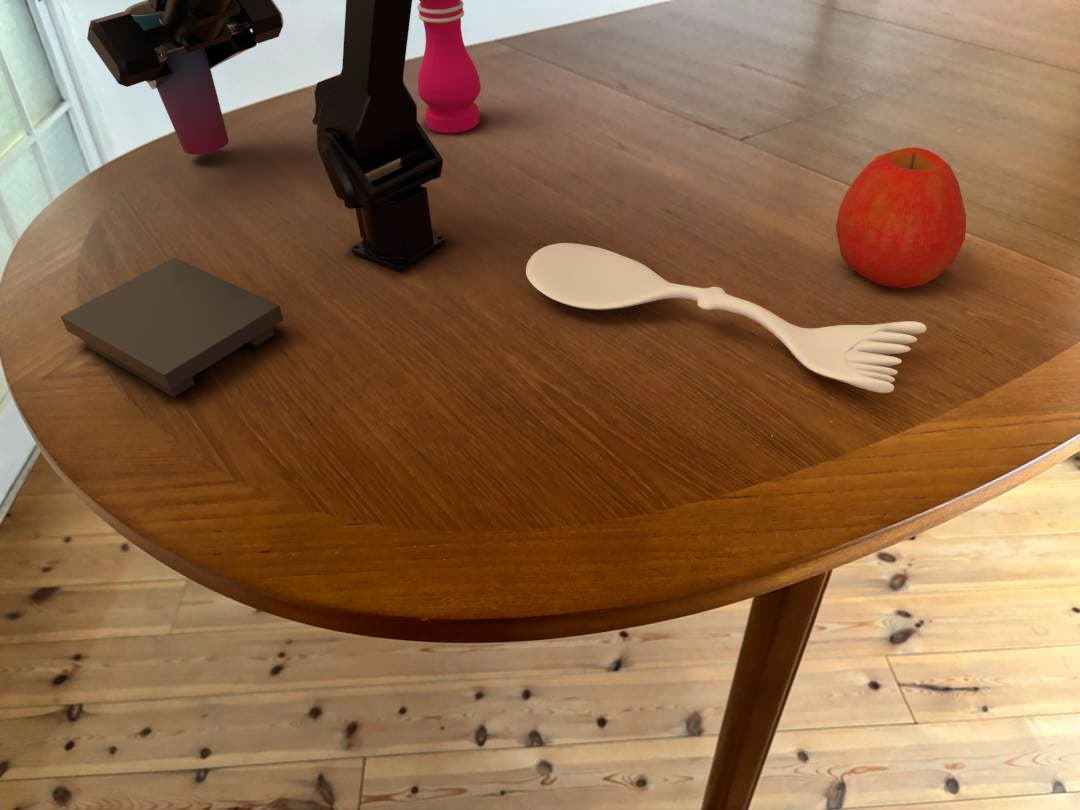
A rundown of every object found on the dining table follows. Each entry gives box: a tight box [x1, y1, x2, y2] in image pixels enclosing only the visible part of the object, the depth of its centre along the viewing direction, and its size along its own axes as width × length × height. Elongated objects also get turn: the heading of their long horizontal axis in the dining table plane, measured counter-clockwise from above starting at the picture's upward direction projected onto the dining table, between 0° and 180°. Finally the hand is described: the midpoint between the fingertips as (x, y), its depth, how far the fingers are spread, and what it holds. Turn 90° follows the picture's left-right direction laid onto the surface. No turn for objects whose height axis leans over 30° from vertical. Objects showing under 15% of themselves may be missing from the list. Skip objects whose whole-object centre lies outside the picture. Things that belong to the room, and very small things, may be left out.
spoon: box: [525, 242, 927, 394], centre depth 73 cm, size 9×32×4 cm, turn 57°
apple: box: [835, 146, 967, 289], centre depth 76 cm, size 10×10×10 cm
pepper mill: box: [417, 0, 482, 134], centre depth 102 cm, size 7×7×20 cm
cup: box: [124, 0, 230, 156], centre depth 98 cm, size 7×7×15 cm
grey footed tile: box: [60, 257, 284, 398], centre depth 75 cm, size 14×11×3 cm
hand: (177, 76), depth 99 cm, fingers closed on cup, 6 cm apart
